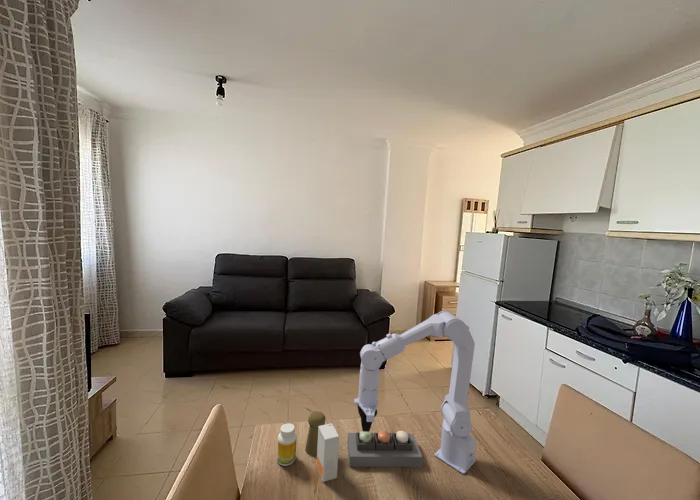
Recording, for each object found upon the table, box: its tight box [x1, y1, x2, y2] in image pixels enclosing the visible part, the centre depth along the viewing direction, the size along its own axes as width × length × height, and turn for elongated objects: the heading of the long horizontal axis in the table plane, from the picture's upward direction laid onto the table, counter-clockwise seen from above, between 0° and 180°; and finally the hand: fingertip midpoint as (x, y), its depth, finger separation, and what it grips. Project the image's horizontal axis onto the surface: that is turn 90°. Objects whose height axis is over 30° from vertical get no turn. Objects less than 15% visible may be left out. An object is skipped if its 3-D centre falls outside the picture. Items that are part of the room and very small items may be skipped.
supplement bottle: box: [276, 422, 298, 467], centre depth 86 cm, size 5×5×10 cm
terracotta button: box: [377, 430, 390, 444], centre depth 91 cm, size 4×4×2 cm
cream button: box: [395, 430, 409, 444], centre depth 91 cm, size 4×4×2 cm
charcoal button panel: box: [346, 432, 423, 468], centre depth 91 cm, size 21×10×5 cm, turn 94°
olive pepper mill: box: [304, 410, 326, 457], centre depth 91 cm, size 6×6×11 cm
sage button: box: [359, 430, 372, 443], centre depth 90 cm, size 4×4×2 cm
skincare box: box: [315, 422, 340, 483], centre depth 82 cm, size 6×4×12 cm
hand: (365, 430), depth 90 cm, fingers closed
